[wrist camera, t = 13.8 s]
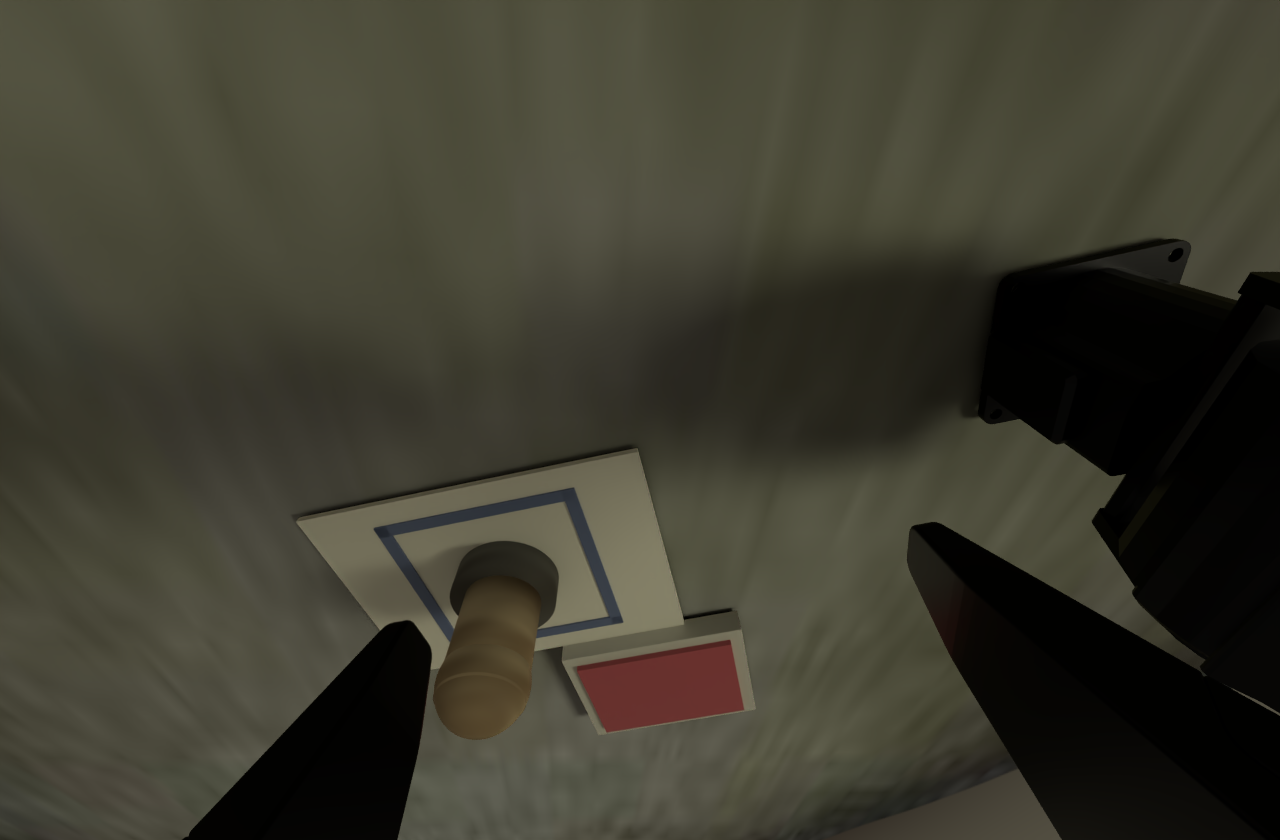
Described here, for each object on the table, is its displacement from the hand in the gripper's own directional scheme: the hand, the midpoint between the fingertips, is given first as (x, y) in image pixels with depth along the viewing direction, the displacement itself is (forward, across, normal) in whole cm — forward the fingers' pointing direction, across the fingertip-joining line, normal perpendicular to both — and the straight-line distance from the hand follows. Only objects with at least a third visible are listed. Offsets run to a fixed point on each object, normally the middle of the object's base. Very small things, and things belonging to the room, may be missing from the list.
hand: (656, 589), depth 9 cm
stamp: (+12, +9, +11) cm, 18 cm away
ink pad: (+12, +3, +21) cm, 24 cm away
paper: (+12, +9, +11) cm, 19 cm away
